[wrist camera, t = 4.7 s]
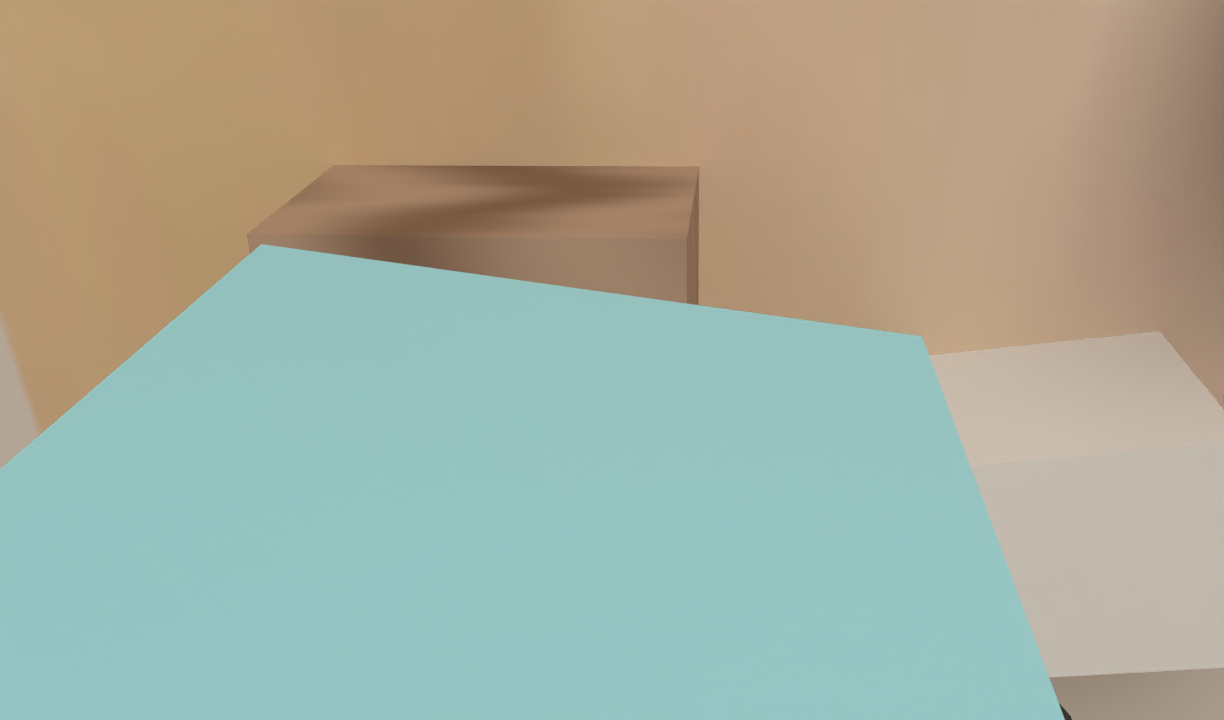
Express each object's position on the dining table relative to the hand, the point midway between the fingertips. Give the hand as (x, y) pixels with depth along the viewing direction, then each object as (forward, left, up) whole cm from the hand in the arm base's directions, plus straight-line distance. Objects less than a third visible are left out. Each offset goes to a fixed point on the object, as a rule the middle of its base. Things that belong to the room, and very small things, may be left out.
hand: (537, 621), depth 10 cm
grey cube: (-9, +6, -16) cm, 19 cm away
